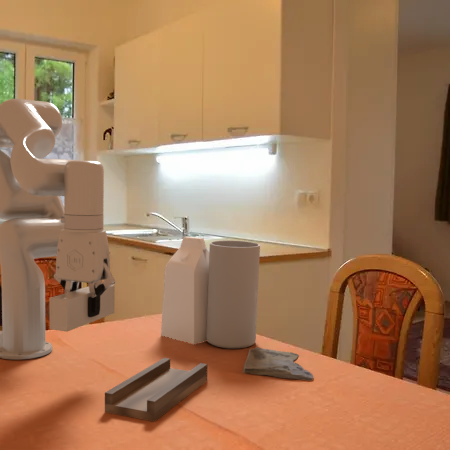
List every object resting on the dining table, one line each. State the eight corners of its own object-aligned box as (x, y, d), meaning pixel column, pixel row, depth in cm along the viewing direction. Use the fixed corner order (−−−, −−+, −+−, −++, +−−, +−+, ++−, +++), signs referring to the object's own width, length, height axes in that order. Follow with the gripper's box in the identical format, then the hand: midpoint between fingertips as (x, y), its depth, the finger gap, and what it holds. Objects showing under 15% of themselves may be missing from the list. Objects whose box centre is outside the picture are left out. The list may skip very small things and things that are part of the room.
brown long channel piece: (104, 411, 103) (104, 392, 103) (163, 374, 123) (164, 357, 123) (154, 421, 99) (154, 401, 99) (207, 380, 120) (207, 364, 119)
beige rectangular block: (49, 329, 111) (49, 297, 110) (98, 311, 125) (98, 283, 125) (66, 331, 109) (66, 300, 108) (114, 313, 124) (114, 285, 123)
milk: (224, 335, 154) (225, 237, 152) (194, 344, 146) (195, 241, 144) (191, 327, 162) (192, 234, 160) (160, 335, 153) (161, 237, 151)
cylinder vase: (197, 338, 150) (200, 241, 147) (238, 332, 156) (242, 239, 154) (222, 352, 139) (226, 248, 137) (265, 345, 146) (270, 246, 143)
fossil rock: (247, 354, 140) (248, 345, 140) (311, 358, 138) (311, 348, 138) (240, 379, 123) (241, 368, 122) (313, 383, 121) (313, 372, 121)
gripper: (37, 222, 115) (37, 313, 117) (109, 227, 109) (108, 323, 110) (61, 219, 122) (61, 306, 124) (130, 224, 116) (129, 315, 117)
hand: (83, 313), depth 117 cm, fingers closed on beige rectangular block, 4 cm apart
